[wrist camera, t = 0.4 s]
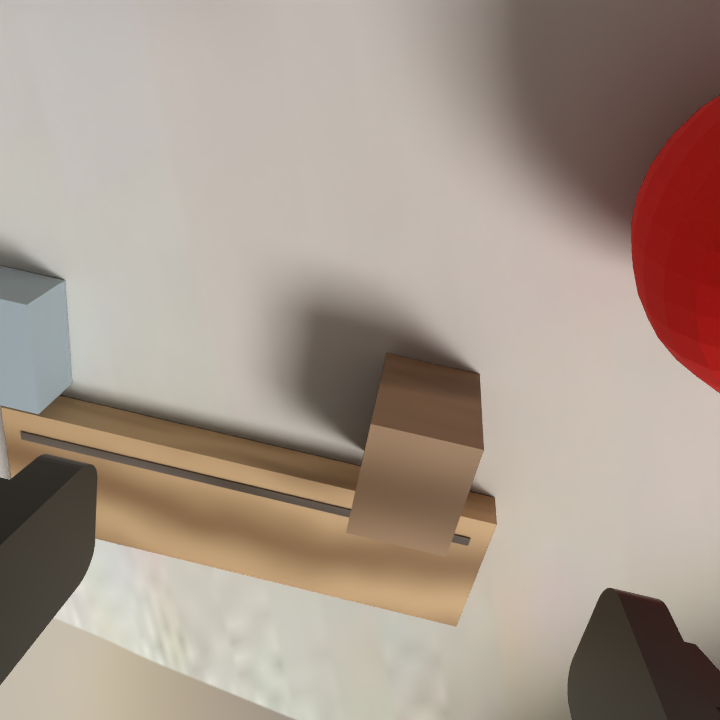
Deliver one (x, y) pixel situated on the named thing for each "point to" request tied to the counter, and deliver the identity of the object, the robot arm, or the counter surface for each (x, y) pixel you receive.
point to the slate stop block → (32, 340)
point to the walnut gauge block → (418, 455)
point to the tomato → (683, 244)
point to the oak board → (247, 508)
